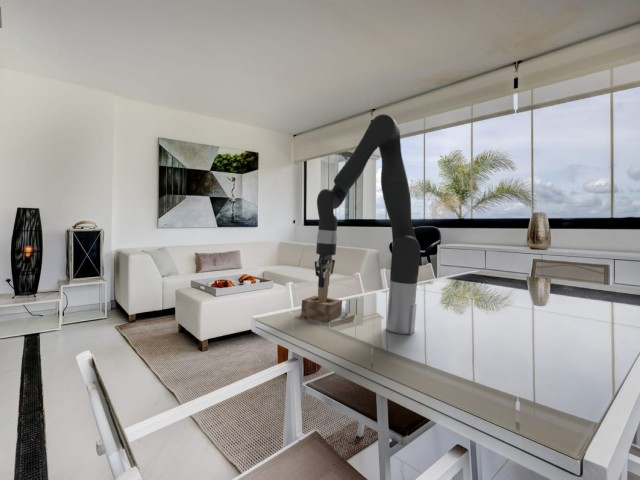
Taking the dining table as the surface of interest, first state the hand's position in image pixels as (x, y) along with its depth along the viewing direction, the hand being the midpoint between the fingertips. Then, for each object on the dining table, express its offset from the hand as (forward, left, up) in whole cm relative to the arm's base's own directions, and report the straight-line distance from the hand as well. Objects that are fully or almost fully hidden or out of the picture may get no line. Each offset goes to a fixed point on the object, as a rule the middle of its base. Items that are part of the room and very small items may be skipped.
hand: (323, 286), depth 128 cm
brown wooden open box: (0, 0, -11) cm, 11 cm away
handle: (0, 0, -6) cm, 6 cm away
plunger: (0, 0, -7) cm, 7 cm away
